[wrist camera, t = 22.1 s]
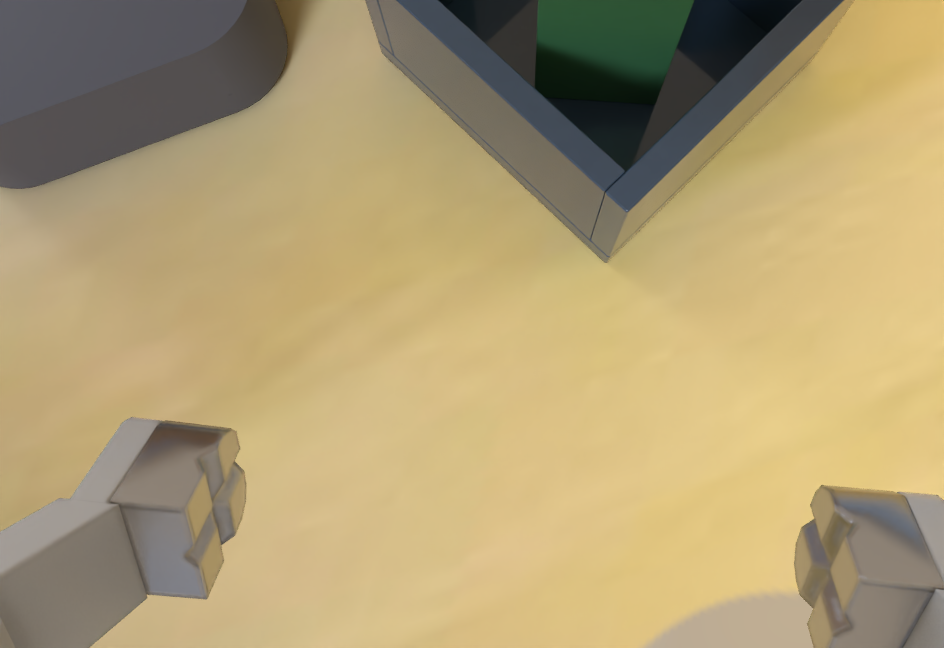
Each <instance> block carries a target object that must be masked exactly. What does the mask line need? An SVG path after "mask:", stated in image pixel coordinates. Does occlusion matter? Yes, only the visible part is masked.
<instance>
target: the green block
mask: <svg viewBox="0 0 944 648" xmlns="http://www.w3.org/2000/svg"><path fill="white" fill-rule="evenodd" d="M693 3H694V0H538V19H537V42H536V65H535V89H536V90H537V91H539V92H540V93H541V94H542V95H543V96H544V97H549V98H564V99H579V100H594V101H610V102H625V103H640V104H656V102H657V99H658V96H659V94H660V91H661V88H662V86H663V83H664V80H665V78H666V75H667V72H668V70H669V67H670V64H671V62H672V59H673V56H674V54H675V51H676V48H677V45H678V43H679V40H680V37H681V35H682V32H683V29H684V27H685V24H686V21H687V19H688V16H689V13H690V11H691V8H692V5H693Z"/></svg>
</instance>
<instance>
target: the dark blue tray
mask: <svg viewBox="0 0 944 648" xmlns="http://www.w3.org/2000/svg"><path fill="white" fill-rule="evenodd" d="M365 1H366V4H367V7H368V11H369V14H370V17H371V20H372V23H373V26H374V29H375V32H376V35H377V38H378V42H379V45H380V48H381V51H382V53H383V54H384V55H385V56H386V57H387V58H388V59H389V60H390V61H391V62H392V63H393V64H394V65H395V66H397V67H398V68H399V69H400V70H401V71H402V72H403V73H404V74H405V75H406V76H407V77H408V78H409V79H410V80H411V81H412V82H413V83H415V84H416V85H417V86H418V87H419V88H420V89H421V90H422V91H423V92H424V93H425V94H426V95H427V96H428V97H429V98H430V99H432V100H433V101H434V102H435V103H436V104H437V105H438V106H439V107H440V108H441V109H442V110H443V111H444V112H445V113H446V114H447V115H449V116H450V117H451V118H452V119H453V120H454V121H455V122H456V123H457V124H458V125H459V126H460V127H461V128H462V129H463V130H464V131H466V132H467V133H468V134H469V135H470V136H471V137H472V138H473V139H474V140H475V141H476V142H477V143H478V144H479V145H480V146H481V147H483V148H484V149H485V150H486V151H487V152H488V153H489V154H490V155H491V156H492V157H493V158H494V159H495V160H496V161H497V162H498V163H500V164H501V165H502V166H503V167H504V168H505V169H506V170H507V171H508V172H509V173H510V174H511V175H512V176H513V177H514V178H515V179H517V180H518V181H519V182H520V183H521V184H522V185H523V186H524V187H525V188H526V189H527V190H528V191H529V192H530V193H531V194H532V195H534V196H535V197H536V198H537V199H538V200H539V201H540V202H541V203H542V204H543V205H544V206H545V207H546V208H547V209H548V210H549V211H551V212H552V213H553V214H554V215H555V216H556V217H557V218H558V219H559V220H560V221H561V222H562V223H563V224H564V225H565V226H566V227H568V228H569V229H570V230H571V231H572V232H573V233H574V234H575V235H576V236H577V237H578V238H579V239H580V240H581V241H582V242H583V243H585V244H586V245H587V246H588V247H589V248H590V249H591V250H592V251H593V252H594V253H595V254H596V255H597V256H598V257H599V258H600V259H602V260H603V261H604V262H605V263H607V262H608V261H609V260H610V259H611V258H612V257H614V256H615V255H616V254H617V253H618V252H619V251H620V250H621V249H622V248H623V247H624V246H625V245H626V244H627V243H628V242H629V241H630V240H631V239H632V238H633V237H634V236H635V235H636V234H637V233H638V232H639V231H640V230H641V229H642V228H643V227H644V226H645V225H646V224H647V223H648V222H649V221H650V220H651V219H652V218H653V217H654V216H655V215H656V214H657V213H658V212H659V211H660V210H661V209H662V208H663V207H664V206H665V205H666V204H667V203H668V202H669V201H670V200H671V199H672V198H673V197H674V196H675V195H676V194H677V193H678V192H679V191H680V190H681V189H682V188H683V187H684V186H685V185H686V184H688V183H689V182H690V181H691V180H692V179H693V178H694V177H695V176H696V175H697V174H698V173H699V172H700V171H701V170H702V169H703V168H704V167H705V166H706V165H707V164H708V163H709V162H710V161H711V160H712V159H713V158H714V157H715V156H716V155H717V154H718V153H719V152H720V151H721V150H722V149H723V148H724V147H725V146H726V145H727V144H728V143H729V142H730V141H731V140H732V139H733V138H734V137H735V136H736V135H737V134H738V133H739V132H740V131H741V130H742V129H743V128H744V127H745V126H746V125H747V124H748V123H749V122H750V121H751V120H752V119H753V118H754V117H755V116H756V115H757V114H758V113H759V112H760V111H762V110H763V109H764V108H765V107H766V106H767V105H768V104H769V103H770V102H771V101H772V100H773V99H774V98H775V97H776V96H777V95H778V94H779V93H780V92H781V91H782V90H783V89H784V88H785V87H786V86H787V85H788V84H789V83H790V82H791V81H792V80H793V79H794V78H795V77H796V76H797V75H798V74H799V73H800V72H801V71H802V70H803V69H804V68H805V67H806V66H807V65H808V64H809V63H810V62H811V61H812V60H813V58H814V57H815V56H816V54H817V53H818V51H819V50H820V48H821V47H822V46H823V44H824V43H825V41H826V40H827V39H828V37H829V36H830V34H831V33H832V32H833V30H834V29H835V27H836V26H837V25H838V23H839V22H840V20H841V19H842V18H843V16H844V15H845V13H846V12H847V11H848V9H849V8H850V6H851V5H852V4H853V2H854V1H855V0H694V3H693V5H692V8H691V11H690V13H689V16H688V19H687V21H686V24H685V27H684V29H683V32H682V35H681V37H680V40H679V43H678V45H677V48H676V51H675V54H674V56H673V59H672V62H671V64H670V67H669V70H668V72H667V75H666V78H665V80H664V83H663V86H662V88H661V91H660V94H659V96H658V99H657V102H656V104H640V103H625V102H610V101H594V100H579V99H564V98H549V97H544V96H543V95H542V94H541V93H540V92H539V91H537V90H536V89H535V65H536V42H537V19H538V0H365Z"/></svg>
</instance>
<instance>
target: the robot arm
mask: <svg viewBox="0 0 944 648" xmlns="http://www.w3.org/2000/svg"><path fill="white" fill-rule="evenodd" d="M239 450H240V445H239V441H238V436H237V432H236V431H235V430H233V429H231V428H224V427H216V426H208V425H199V424H191V423H183V422H175V421H166V420H165V421H160V420H152V419H144V418H136V417H131V418H129V419H127V420H126V421H124V422H123V423H122V424H121V425H120V426H119V428H118V429H117V431H116V432H115V433H114V435H113V436H112V438H111V439H110V441H109V442H108V444H107V445H106V447H105V448H104V450H103V451H102V452H101V454H100V455H99V457H98V458H97V460H96V461H95V463H94V464H93V466H92V467H91V469H90V470H89V471H88V473H87V474H86V476H85V477H84V479H83V480H82V482H81V483H80V485H79V486H78V488H77V489H76V490H75V492H74V493H73V495H72V496H71V498H70V499H64V498H59V499H57V500H55V501H54V502H52V503H50V504H48V505H46V506H45V507H43V508H41V509H39V510H38V511H36V512H34V513H32V514H31V515H29V516H27V517H25V518H24V519H22V520H20V521H18V522H17V523H15V524H13V525H11V526H10V527H8V528H6V529H4V530H3V531H1V532H0V648H89V647H90V646H92V645H93V644H94V643H95V642H96V641H97V640H99V639H100V638H101V637H102V636H103V635H104V634H106V633H107V632H108V631H109V630H110V629H112V628H113V627H114V626H115V625H116V624H117V623H119V622H120V621H121V620H122V619H123V618H124V617H126V616H127V615H128V614H129V613H130V612H131V611H133V610H134V609H135V608H136V607H137V606H138V605H140V604H141V603H142V602H143V601H144V600H145V599H147V594H148V595H160V596H172V597H184V598H196V599H207V598H208V596H209V594H210V591H211V589H212V587H213V585H214V582H215V580H216V578H217V576H218V573H219V571H220V569H221V567H222V564H223V562H224V557H223V553H222V548H221V545H222V544H224V543H225V542H226V541H228V540H229V539H231V538H232V537H233V536H235V534H236V532H237V530H238V527H239V525H240V522H241V520H242V516H243V511H244V507H245V502H246V479H245V473H244V470H243V469H242V468H241V467H240V466H239V465H238V464H237V463H236V462H235V459H236V456H237V454H238V452H239ZM810 506H811V509H812V512H813V516H814V520H812V521H810V522H809V523H807V524H806V525H804V526H803V527H801V530H800V533H799V536H798V539H797V542H796V548H795V560H794V567H795V576H796V582H797V586H798V590H799V594H800V596H801V597H802V598H803V599H804V600H805V601H806V602H807V603H808V604H809V605H810V606H811V607H812V608H813V611H812V614H811V616H810V618H809V621H808V623H807V625H808V628H809V632H810V636H811V639H812V643H813V647H814V648H944V500H943V499H942V498H940V497H939V496H938V495H931V494H919V493H908V492H897V493H896V492H893V491H882V490H871V489H860V488H848V487H837V486H825V485H822V486H821V487H820V488H819V489H818V490H817V491H816V492H815V494H814V497H813V499H812V502H811V504H810Z"/></svg>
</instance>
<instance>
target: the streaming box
mask: <svg viewBox="0 0 944 648" xmlns="http://www.w3.org/2000/svg"><path fill="white" fill-rule="evenodd" d="M286 56H287V35H286V31H285V28H284V24H283V22H282V19H281V16H280V13H279V10H278V8H277V5H276V2H275V0H0V187H6V188H14V189H23V188H30V187H35V186H39V185H42V184H45V183H48V182H50V181H53V180H56V179H58V178H61V177H64V176H67V175H69V174H72V173H75V172H77V171H80V170H83V169H85V168H88V167H91V166H94V165H96V164H99V163H102V162H104V161H107V160H110V159H112V158H115V157H118V156H120V155H123V154H126V153H129V152H131V151H134V150H137V149H139V148H142V147H145V146H147V145H150V144H153V143H155V142H158V141H161V140H164V139H166V138H169V137H172V136H174V135H177V134H180V133H182V132H185V131H188V130H190V129H193V128H196V127H199V126H201V125H204V124H207V123H209V122H212V121H215V120H217V119H220V118H223V117H225V116H228V115H231V114H234V113H236V112H239V111H241V110H243V109H245V108H248V107H250V106H251V105H253V104H254V103H256V102H257V101H259V100H260V99H261V98H262V97H263V96H265V95H266V94H267V93H268V92H269V90H270V89H271V88H272V87H273V86H274V84H275V83H276V81H277V80H278V78H279V76H280V74H281V72H282V70H283V67H284V64H285V60H286Z"/></svg>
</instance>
